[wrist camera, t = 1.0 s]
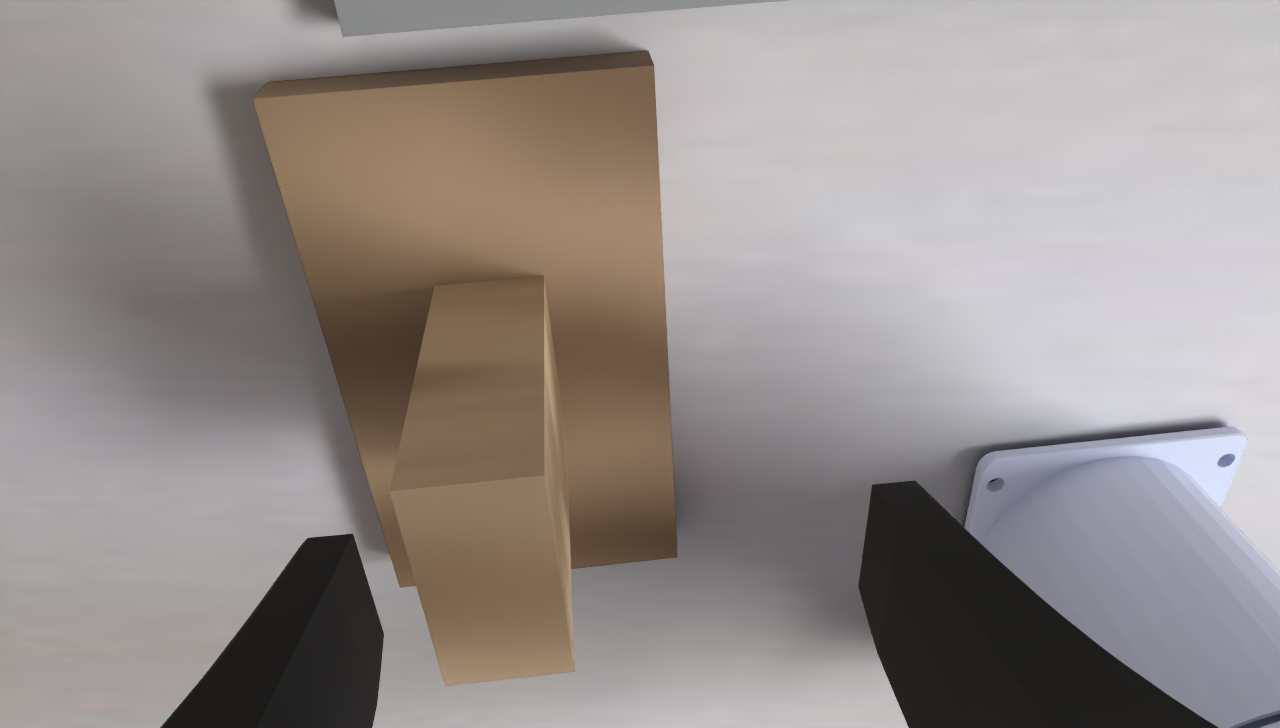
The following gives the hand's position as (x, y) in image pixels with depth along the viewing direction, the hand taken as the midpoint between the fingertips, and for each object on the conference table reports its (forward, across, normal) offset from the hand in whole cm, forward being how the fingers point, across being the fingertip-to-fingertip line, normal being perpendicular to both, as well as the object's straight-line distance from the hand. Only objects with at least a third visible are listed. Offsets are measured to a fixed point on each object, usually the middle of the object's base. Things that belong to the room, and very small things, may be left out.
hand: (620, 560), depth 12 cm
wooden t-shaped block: (+11, +2, +3) cm, 11 cm away
